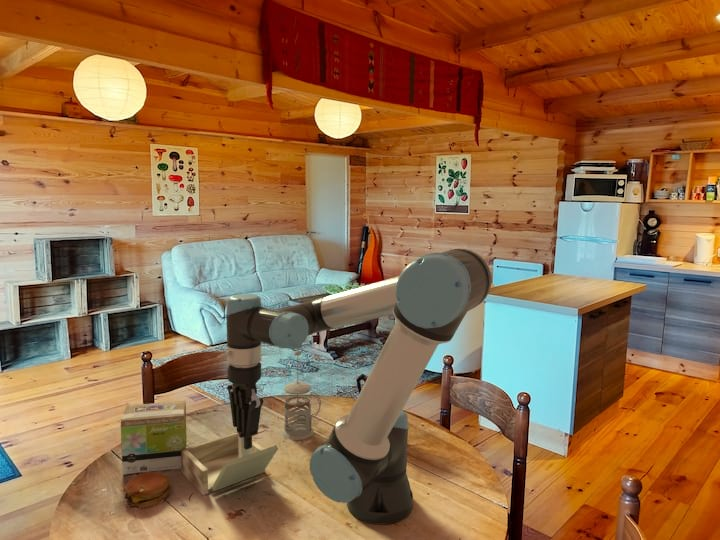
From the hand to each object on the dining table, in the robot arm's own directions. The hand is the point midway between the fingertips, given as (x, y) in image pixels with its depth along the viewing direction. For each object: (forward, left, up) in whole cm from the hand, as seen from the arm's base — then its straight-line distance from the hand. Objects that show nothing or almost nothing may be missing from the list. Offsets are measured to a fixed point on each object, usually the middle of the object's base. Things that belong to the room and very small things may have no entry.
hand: (245, 459), depth 120 cm
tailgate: (0, 0, -3) cm, 3 cm away
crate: (+12, 0, -8) cm, 14 cm away
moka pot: (+1, -43, -9) cm, 43 cm away
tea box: (+27, +11, -9) cm, 30 cm away
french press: (+18, -28, -9) cm, 34 cm away
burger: (+13, +18, -9) cm, 24 cm away
